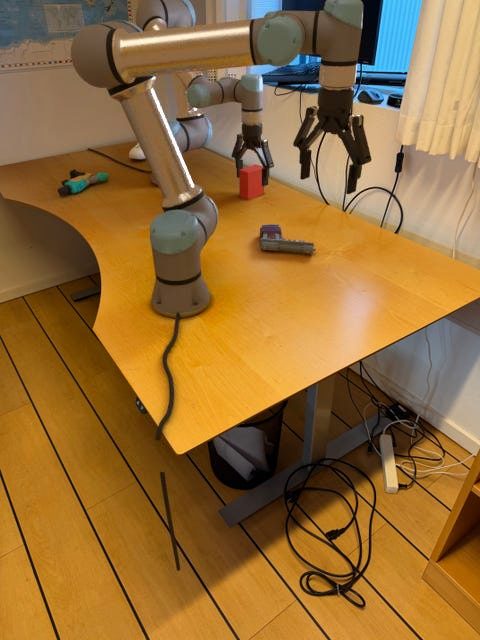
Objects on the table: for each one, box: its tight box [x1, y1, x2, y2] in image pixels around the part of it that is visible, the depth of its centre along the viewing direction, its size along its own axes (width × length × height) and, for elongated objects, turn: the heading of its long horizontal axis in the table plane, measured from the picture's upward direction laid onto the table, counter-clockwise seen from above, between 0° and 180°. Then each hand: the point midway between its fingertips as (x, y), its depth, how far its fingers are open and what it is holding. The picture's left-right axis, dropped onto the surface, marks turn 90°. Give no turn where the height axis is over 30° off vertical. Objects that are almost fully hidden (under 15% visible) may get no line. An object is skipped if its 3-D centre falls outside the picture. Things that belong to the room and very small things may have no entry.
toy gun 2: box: [259, 223, 317, 255], centre depth 150 cm, size 4×19×15 cm
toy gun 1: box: [57, 168, 110, 197], centre depth 194 cm, size 4×26×15 cm
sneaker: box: [128, 142, 146, 161], centre depth 226 cm, size 10×29×12 cm, turn 163°
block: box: [238, 164, 265, 201], centre depth 183 cm, size 5×9×11 cm, turn 134°
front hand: (327, 185), depth 112 cm, fingers open, 13 cm apart
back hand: (252, 181), depth 182 cm, fingers open, 13 cm apart
